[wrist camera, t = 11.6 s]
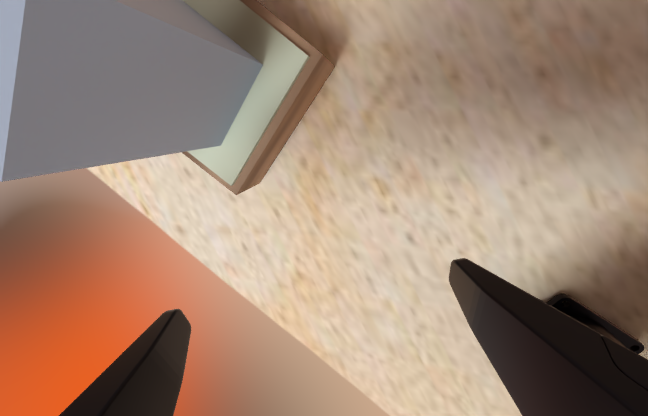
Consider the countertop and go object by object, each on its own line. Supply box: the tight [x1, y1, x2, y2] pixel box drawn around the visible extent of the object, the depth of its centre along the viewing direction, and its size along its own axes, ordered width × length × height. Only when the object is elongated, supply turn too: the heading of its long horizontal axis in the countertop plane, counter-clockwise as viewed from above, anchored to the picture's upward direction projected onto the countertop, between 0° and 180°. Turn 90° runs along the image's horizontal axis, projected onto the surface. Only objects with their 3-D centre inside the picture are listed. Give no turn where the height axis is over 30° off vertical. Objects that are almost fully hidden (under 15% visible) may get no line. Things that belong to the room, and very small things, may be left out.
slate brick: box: [0, 0, 263, 181], centre depth 10 cm, size 5×5×10 cm
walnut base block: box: [182, 0, 335, 195], centre depth 17 cm, size 10×10×4 cm
